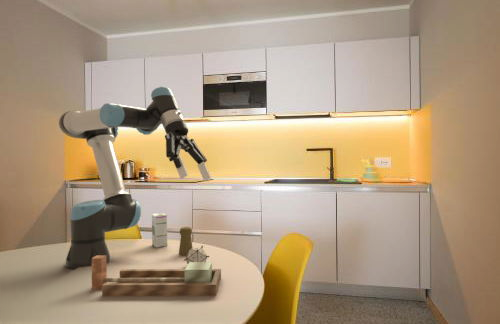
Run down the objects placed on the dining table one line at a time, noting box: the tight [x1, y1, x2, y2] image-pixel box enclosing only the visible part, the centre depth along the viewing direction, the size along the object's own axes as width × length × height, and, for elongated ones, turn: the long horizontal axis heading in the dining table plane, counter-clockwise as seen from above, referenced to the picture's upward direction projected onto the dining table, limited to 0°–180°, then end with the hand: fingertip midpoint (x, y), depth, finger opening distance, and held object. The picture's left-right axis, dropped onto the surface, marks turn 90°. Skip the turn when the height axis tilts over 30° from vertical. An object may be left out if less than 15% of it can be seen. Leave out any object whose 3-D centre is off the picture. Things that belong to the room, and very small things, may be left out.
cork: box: [178, 226, 194, 257], centre depth 133 cm, size 6×6×11 cm
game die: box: [183, 245, 210, 265], centre depth 113 cm, size 9×8×10 cm
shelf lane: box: [101, 268, 222, 297], centre depth 95 cm, size 32×13×4 cm, turn 89°
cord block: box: [91, 255, 213, 290], centre depth 95 cm, size 35×7×9 cm, turn 89°
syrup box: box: [151, 212, 168, 248], centre depth 146 cm, size 6×6×14 cm
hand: (196, 178), depth 105 cm, fingers open, 13 cm apart
